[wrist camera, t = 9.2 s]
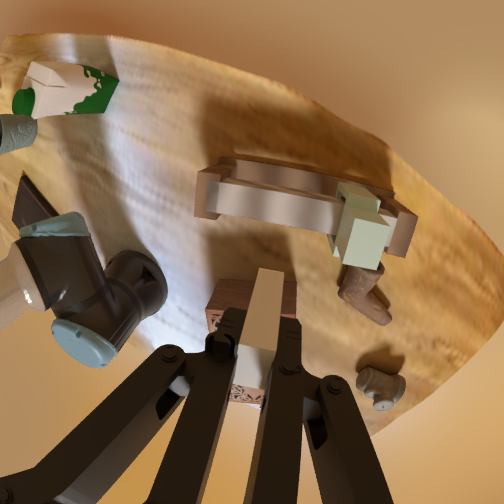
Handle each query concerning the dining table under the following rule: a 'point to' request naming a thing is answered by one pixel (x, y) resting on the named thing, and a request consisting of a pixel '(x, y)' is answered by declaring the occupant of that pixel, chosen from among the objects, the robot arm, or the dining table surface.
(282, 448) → the robot arm
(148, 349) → the dining table surface
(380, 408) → the pipe fitting
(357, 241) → the pale green slider block
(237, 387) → the tissue box cover
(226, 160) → the rail
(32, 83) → the milk carton
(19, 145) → the grey green cup
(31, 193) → the hardcover book
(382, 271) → the pipe
